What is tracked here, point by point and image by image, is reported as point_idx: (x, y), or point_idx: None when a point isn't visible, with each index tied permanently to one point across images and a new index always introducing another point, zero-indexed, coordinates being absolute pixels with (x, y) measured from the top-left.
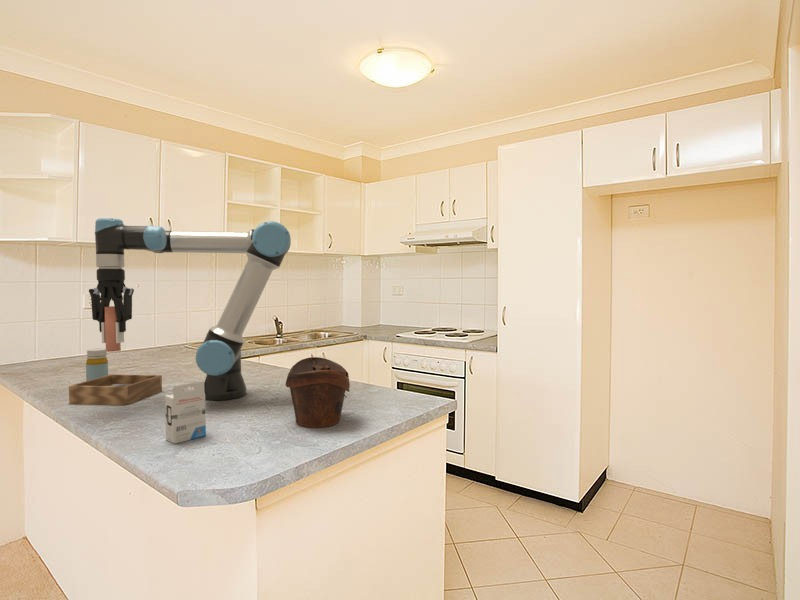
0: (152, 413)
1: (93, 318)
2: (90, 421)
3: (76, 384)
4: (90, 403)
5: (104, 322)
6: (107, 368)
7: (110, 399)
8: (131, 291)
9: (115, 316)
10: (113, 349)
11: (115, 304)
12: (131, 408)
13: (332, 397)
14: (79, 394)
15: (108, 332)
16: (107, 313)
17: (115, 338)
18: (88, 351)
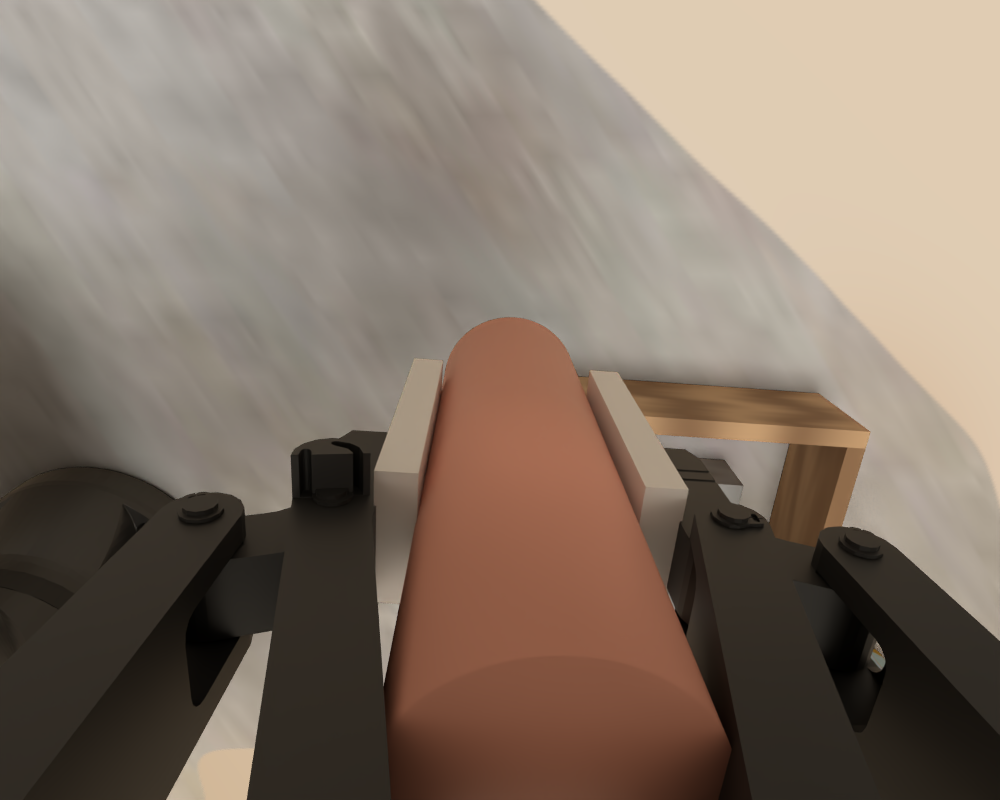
0: (257, 215)
1: (871, 538)
2: (497, 48)
3: (846, 472)
4: (700, 386)
5: (641, 506)
6: None
7: None
8: None
9: (416, 555)
10: (472, 333)
11: (340, 774)
12: (435, 313)
13: None
14: (781, 408)
15: (523, 384)
16: (558, 541)
17: (450, 386)
18: None
